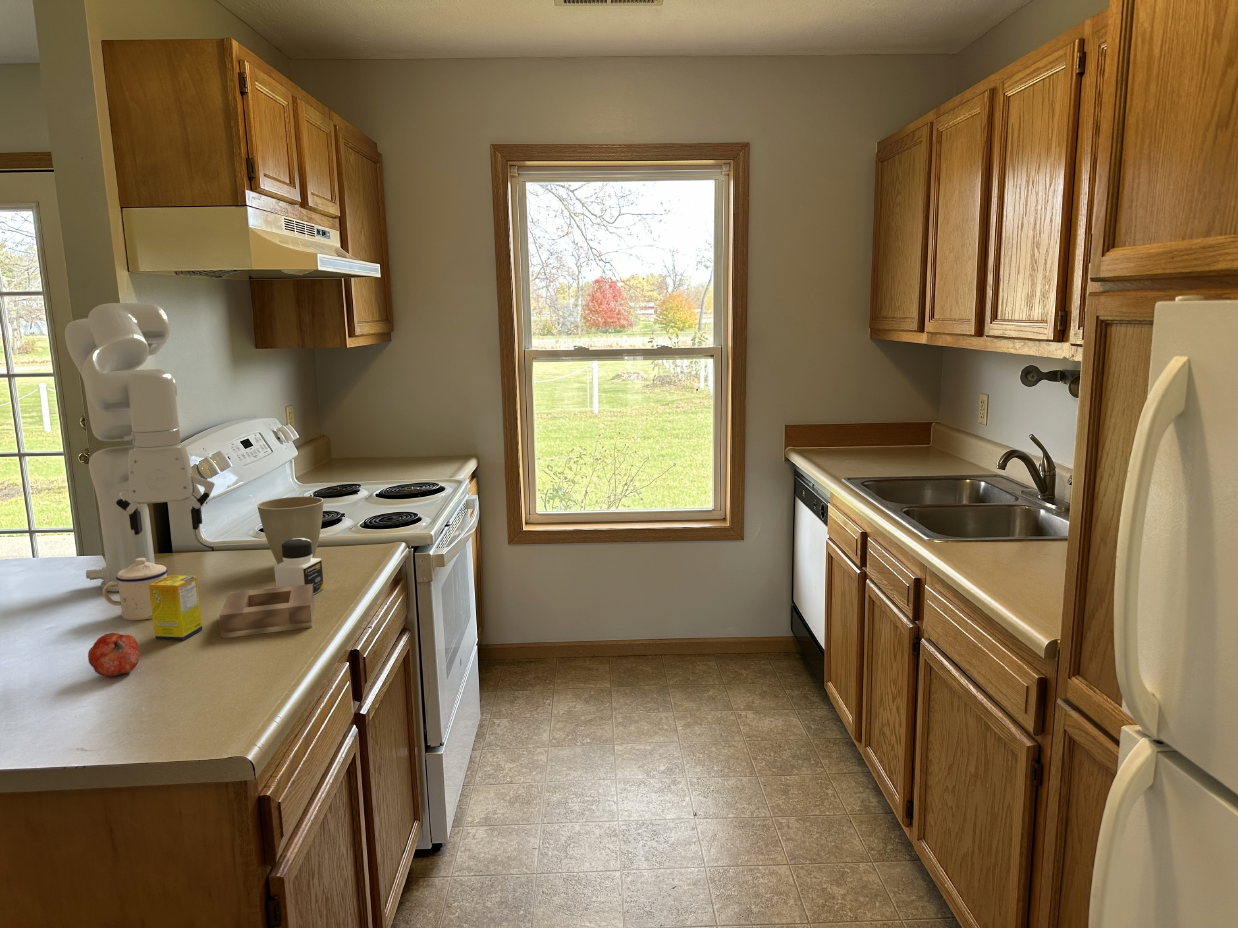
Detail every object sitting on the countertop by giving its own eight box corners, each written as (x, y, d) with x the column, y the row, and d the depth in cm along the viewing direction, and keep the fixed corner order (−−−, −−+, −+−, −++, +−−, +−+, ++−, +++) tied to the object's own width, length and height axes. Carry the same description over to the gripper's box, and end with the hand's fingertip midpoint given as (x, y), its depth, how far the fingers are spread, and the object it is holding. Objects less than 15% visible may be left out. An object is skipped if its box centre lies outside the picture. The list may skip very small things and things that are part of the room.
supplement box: (175, 628, 162) (168, 574, 160) (203, 629, 161) (197, 575, 159) (154, 640, 156) (147, 584, 154) (183, 641, 155) (177, 585, 153)
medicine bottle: (306, 599, 178) (301, 545, 176) (276, 597, 179) (271, 543, 177) (324, 589, 185) (320, 536, 183) (295, 587, 186) (290, 535, 184)
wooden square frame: (221, 638, 156) (219, 615, 156) (230, 614, 170) (228, 592, 169) (312, 627, 161) (310, 604, 161) (314, 604, 174) (312, 583, 174)
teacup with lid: (176, 604, 176) (170, 550, 174) (165, 618, 168) (158, 562, 166) (113, 610, 173) (106, 556, 171) (98, 625, 165) (91, 568, 163)
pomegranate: (87, 688, 141) (87, 669, 134) (88, 646, 144) (87, 626, 137) (138, 682, 145) (140, 663, 138) (137, 641, 148) (140, 621, 141)
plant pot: (336, 567, 201) (330, 503, 198) (270, 579, 193) (264, 511, 190) (319, 554, 213) (314, 493, 210) (257, 564, 205) (251, 501, 202)
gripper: (97, 445, 146) (109, 540, 149) (206, 439, 152) (215, 530, 154) (108, 440, 153) (120, 530, 156) (212, 434, 159) (221, 522, 161)
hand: (167, 530), depth 155 cm, fingers open, 9 cm apart
